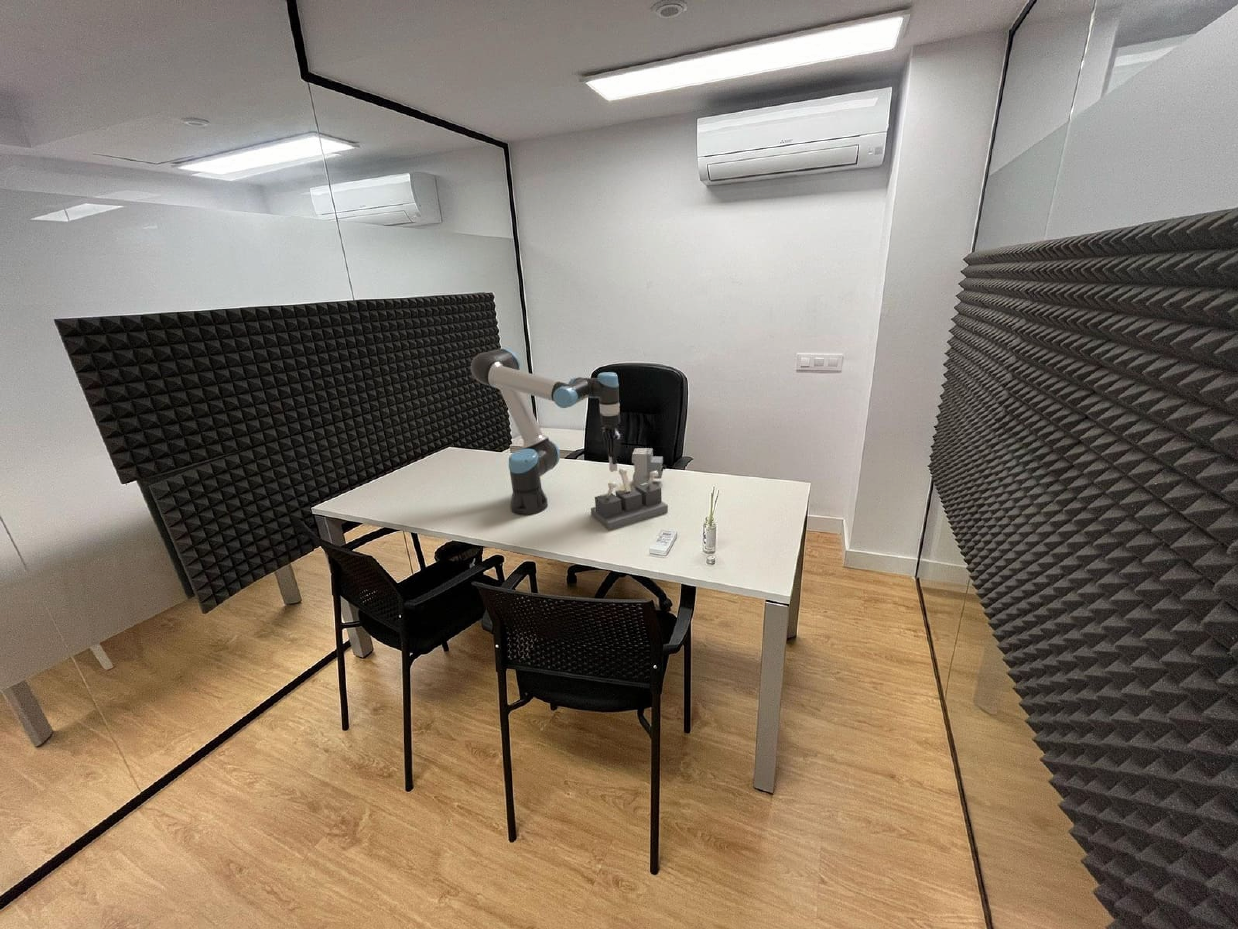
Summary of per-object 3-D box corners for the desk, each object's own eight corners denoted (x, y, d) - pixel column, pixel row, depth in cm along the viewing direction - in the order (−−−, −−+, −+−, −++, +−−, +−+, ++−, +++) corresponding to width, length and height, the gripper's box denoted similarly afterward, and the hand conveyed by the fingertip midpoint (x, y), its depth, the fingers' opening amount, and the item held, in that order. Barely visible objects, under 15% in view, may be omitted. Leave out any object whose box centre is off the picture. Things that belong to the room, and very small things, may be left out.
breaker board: (591, 515, 189) (588, 474, 183) (647, 498, 201) (646, 460, 194) (609, 530, 177) (606, 487, 171) (667, 512, 188) (667, 471, 182)
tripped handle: (624, 492, 186) (618, 469, 186) (629, 491, 187) (623, 468, 187) (626, 491, 184) (620, 468, 184) (632, 490, 185) (625, 467, 185)
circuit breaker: (665, 486, 211) (664, 454, 206) (633, 485, 214) (631, 453, 209) (666, 480, 218) (666, 448, 213) (635, 479, 221) (634, 448, 216)
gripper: (627, 415, 181) (629, 473, 189) (610, 408, 192) (614, 463, 200) (609, 418, 177) (613, 477, 186) (593, 411, 188) (597, 467, 197)
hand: (613, 470), depth 193 cm, fingers closed
